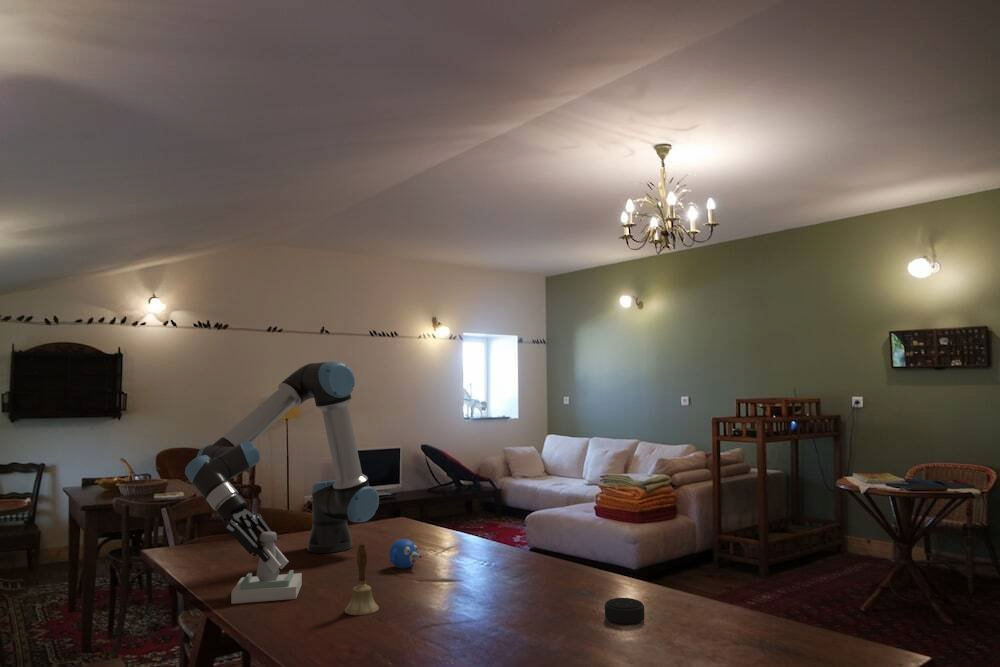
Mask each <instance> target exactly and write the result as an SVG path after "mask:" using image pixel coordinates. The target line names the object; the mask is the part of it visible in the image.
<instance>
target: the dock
mask: <svg viewBox="0 0 1000 667" xmlns="http://www.w3.org/2000/svg"><path fill="white" fill-rule="evenodd" d="M294 570H295V569H290V570H289V571H288V573H287V574H285V573H283V574H279V575H278V577H277V580H276V581H262V582H260V581H259V578H258V577H257V575H255V576H253V573H252V572H248V573H247V574H246V576H245V577H244V576H243V577H241V578H240V579H239V581H238V582H237V583H236V585H235V586H234V587H233V589H232V590H231V592H230V594H231V595H230V596H231V597H230V598H231V599H230V600H231V602H230V603H231V604H245V603H247V604H248V603H258V602H259V603H260V602H270V601H284V600H285V601H286V600H295V599H297V597H298V595H299V592H300V590H301V587H302V582H303V579H302V577H303V574H302V572H299V573H294V572H295V571H294Z"/></svg>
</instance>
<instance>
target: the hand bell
mask: <svg viewBox="0 0 1000 667" xmlns="http://www.w3.org/2000/svg"><path fill="white" fill-rule="evenodd" d="M356 563H357V567H358V582H357V583H358V584H357V585H356V586H353V588H352V594H351V599H350V601H349V603H348V604H347V606H346V607H345V608H344V613H345V614H347V615H350V616H368V615H371V614H375V613H377V612H379V610H380V606H379V605H378V604H377V603H376V602H375V600H374V597H373V592H372V587H371V585H368V584H367V583H366V580H367V579H366V568H367V563H368V551H367V548H366V544H365V543H364V542H361V543H359V545H358V550H357V552H356Z"/></svg>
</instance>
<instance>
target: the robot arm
mask: <svg viewBox="0 0 1000 667" xmlns="http://www.w3.org/2000/svg"><path fill="white" fill-rule="evenodd" d="M355 381H356V380H355V375H354V373H353V371H352V369H351V368H350V367H349V366H348V365H346V364H345V363H344V362H339V361H332V360H330V361H325V362H323V361H322V362H312V363H308V364H305V365H303V366H301V367H299V368H298V369H297V370H295V371H294V372H292V374H290V375H289V376H288V377H286V378H285V379H283V381H281V383H279V384H278V386H277V390H276V391H274V392H273V393H272V394H271V395H270V396H269V397H267V398H266V399H265V400H264V401H263V402H262V403H260V404H259V405H258V406H257V407H255V409H253V410H252V411H251V412H250V413H248V414H247V415H246V416H245V417H244V418H243V419H241V420H240V421H239V422H238V423H236V424H235V426H233V427H232V428H231V429H229V431H227V432H226V433H225V434H224V435H222V436H221V437H220V438H219V439H217V441H215V442H214V443H212V444H209V445H205V446H203V447H201V448H200V449H199V450H198V452H197V455H196V457H195V458H193V459H192V460H191V461H190V462H188V464H187V465H186V466H185V468H184V474H185V476H186V477H187V479H188V481H189V482H190V483H191V484H192V485H193V486H194V488H195V489H196V490H197V491H198V492H199V493H200V495H201V496H202V497H203V498H204V500H205V501H206V502H207V503H208V504H209V505H210V507H211V508H212V510H213V511H215V512H216V514H217V516H218V517H219V518H220V520H222V522H223V523H228V524H227V525H226V527H225V531H226V532H228V533H229V534H230V535H232V536H233V538H234V539H235V540H236V541H237V542H238V543H239V544H240V545H241V547H243V549H245V551H247V553H248V554H250V555H252V556H253V557H256V556H257V555H258V557H259V558H261V559H262V560H263V561H264V562H266V564H267V566H268V567H269V568H270V569H271V571H272V572H273V573H274V572H275V571H276V570H277V569H278V568H279V570H282V569H284V568H285V566H286V565H287V564H289V562H290V561H289V560H288V559H287V557H286V556H285V555H284V554H283V553H282V552H281V550H280V549H279V548H278V547H277V545H276V544H275V548H276V554H277V559H278V560H277V559H276V558H275V557H274V556H273V554H272V553H271V552H270V551H269V550H268V549H267V548H266V547H264V548H263V546H262V543H263V542H261V541H260V535H261V534H262V533H263V532H268V531H272V530H271V529H270V528H269V526H268V525H267V523H266V522H265V520H263V517H262V515H261V514H260V513H259V512H258V513H257V514H253V513H252V512H251V511H250V510H248V502H247V501H246V500H245V499H244V497H243V496H242V495H241V494H239V491H238V490H237V489H236V488H235V487H234V486H233V484H232V483H231V482H230V480H231V479H233V478H235V477H237V476H239V475H240V474H243V473H244V472H246V471H247V470H250V469H251V468H252V467H254V466H256V465H257V464H258V463H259V462H260V460H261V455H260V452H259V449H258V447H257V446H256V445H255V444H254V442H255V441H256V440H257V439H258V438H260V436H262V435H263V434H264V433H265V432H266V431H268V429H269V428H271V427H272V426H273V425H274V424H276V423H277V422H278V421H279V420H280V419H281V418H282V417H284V416H285V415H286V414H287V413H288V412H289V411H290V410H291V409H293V407H299V406H301V404H303V403H304V402H306V401H307V400H310V399H314V403H315V407H316V408H318V409H319V410H320V411H321V413H322V418H323V423H324V427H325V432H326V433H325V434H326V437H327V442H328V445H329V452H330V455H331V461H332V465H333V470H334V475H335V479H333V480H332V479H331V480H326V481H320V482H315V483H314V484H313V486H312V490H311V492H312V493H311V498H312V501H311V502H312V504H311V505H312V506H311V507H312V508H311V509H312V511H311V512H312V528H311V530H310V534H309V537H308V540H307V544H306V550H307V551H308V552H311V553H315V554H316V553H317V554H328V553H329V554H330V553H337V552H344V551H347V550H350V549H351V548H353V539H352V538H353V537H352V535H351V531H350V529H349V527H348V526H349V525H348V522H352V523H364V522H368V521H369V520H370V519H372V517H373V516H374V515H375V514H376V511H377V510H378V508H379V504H380V497H379V493H378V491H377V490H376V489H375V488H374V487H372V486H370V483H369V477H368V476H367V475H365V474H364V473H363V472H362V471H363V470H362V466H361V461H360V458H359V452H358V446H357V442H356V437H355V432H354V427H353V422H352V419H351V412H350V410H349V409H350V408H349V403H350V402H351V400H352V394H351V393H352V392H353V391H354V387H355V384H356V382H355ZM277 541H278V538H277V539H276V540H275V541H274V542H275V543H276V542H277Z"/></svg>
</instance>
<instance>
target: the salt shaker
mask: <svg viewBox="0 0 1000 667" xmlns="http://www.w3.org/2000/svg"><path fill="white" fill-rule="evenodd" d="M276 539H277V540H278V537H277V532H276V531H272V530H271V531H268V532H263V533H262V534H261V535H260V541H261V542H263V543H261V542H260V543H261V544H262V546H263V548H264V547H266V548H267V549H268V550H269V551H270V552H271V553H272V554H273V556H274V557H275V558H276V559H277V554H276V548H275V545H276V542H274V541H275V540H276ZM277 560H278V559H277ZM278 575H280V567H279V568H278V569H277V570H276V571H275V572H274V573H273V572H272V571H271V569H270V568H269V567H268V566H267V564H266V562H264V561H263V560H262V559H261V558H260V557H259V559H258V563H257V569H256V576H257V577H258V578H259V581H260V582H262V581H276V580H277V577H278Z"/></svg>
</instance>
